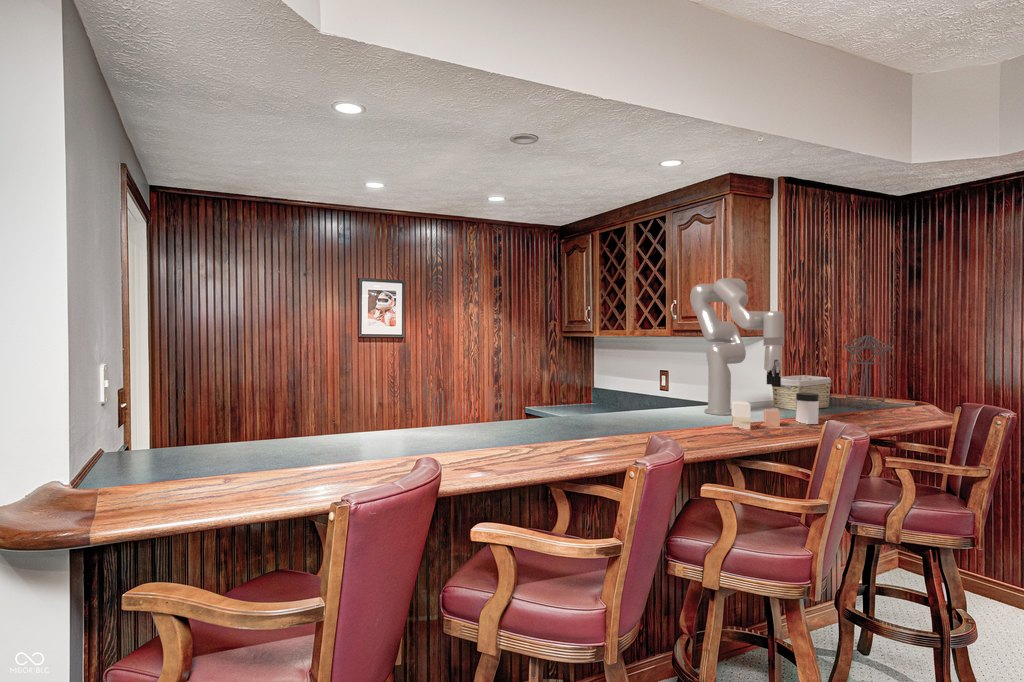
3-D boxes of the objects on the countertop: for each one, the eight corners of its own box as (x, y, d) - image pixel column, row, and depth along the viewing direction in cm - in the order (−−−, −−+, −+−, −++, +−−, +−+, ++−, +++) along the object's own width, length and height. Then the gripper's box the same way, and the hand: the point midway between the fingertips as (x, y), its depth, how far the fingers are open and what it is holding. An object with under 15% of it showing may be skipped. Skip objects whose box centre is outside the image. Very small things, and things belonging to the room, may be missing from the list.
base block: (731, 426, 227) (731, 414, 227) (747, 427, 225) (747, 414, 225) (733, 429, 221) (733, 416, 221) (750, 430, 220) (750, 417, 219)
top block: (763, 424, 233) (763, 409, 233) (777, 424, 232) (777, 409, 232) (766, 426, 228) (766, 411, 228) (779, 426, 227) (780, 411, 227)
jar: (822, 423, 234) (823, 394, 234) (813, 425, 229) (814, 395, 229) (800, 420, 241) (800, 391, 241) (790, 422, 236) (791, 393, 236)
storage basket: (798, 411, 264) (799, 379, 264) (768, 406, 279) (769, 376, 278) (832, 408, 275) (833, 377, 274) (802, 403, 289) (802, 374, 289)
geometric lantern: (838, 406, 281) (841, 334, 280) (866, 406, 284) (869, 335, 283) (863, 411, 265) (866, 335, 265) (893, 411, 268) (896, 335, 267)
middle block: (731, 414, 227) (731, 401, 227) (747, 414, 225) (748, 402, 225) (733, 416, 221) (733, 403, 221) (750, 417, 219) (750, 404, 219)
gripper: (759, 342, 238) (759, 383, 238) (767, 342, 221) (767, 387, 221) (779, 342, 236) (778, 383, 236) (789, 343, 219) (788, 387, 220)
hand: (773, 385), depth 229 cm, fingers open, 9 cm apart
